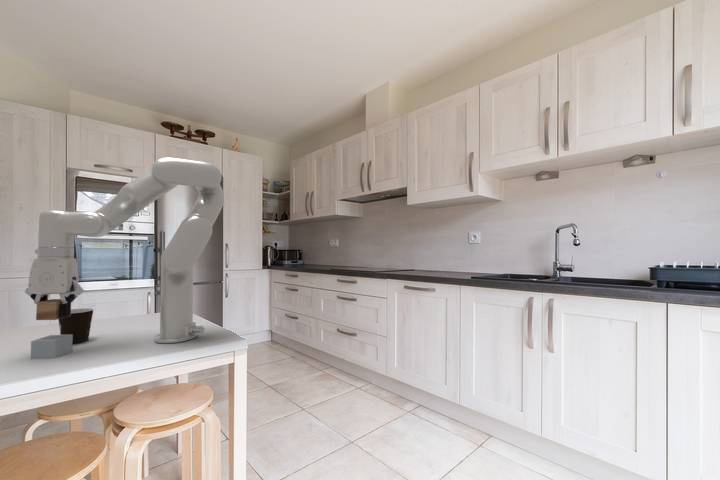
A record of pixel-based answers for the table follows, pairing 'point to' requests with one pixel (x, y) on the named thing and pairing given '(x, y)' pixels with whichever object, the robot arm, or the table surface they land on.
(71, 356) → the table surface
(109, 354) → the table surface
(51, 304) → the walnut block
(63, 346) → the slate block
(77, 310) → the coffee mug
